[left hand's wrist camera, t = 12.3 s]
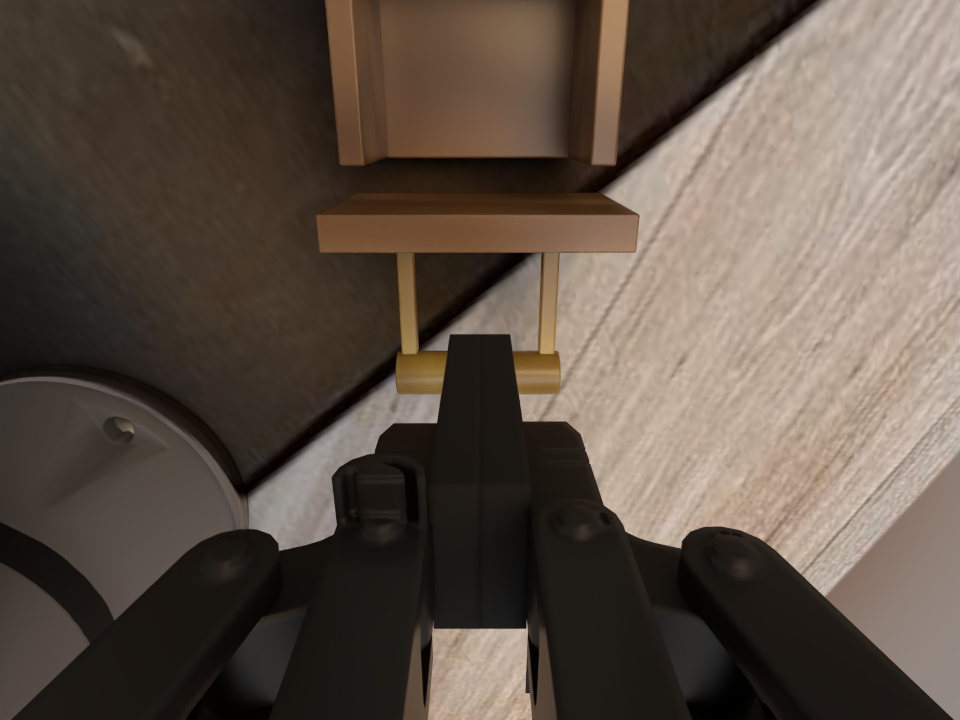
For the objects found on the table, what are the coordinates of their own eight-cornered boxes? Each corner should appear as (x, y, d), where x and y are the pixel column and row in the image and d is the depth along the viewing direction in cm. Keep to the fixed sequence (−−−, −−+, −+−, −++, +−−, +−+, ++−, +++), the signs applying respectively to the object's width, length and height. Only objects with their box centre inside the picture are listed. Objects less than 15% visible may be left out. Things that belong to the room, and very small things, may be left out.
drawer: (588, 358, 27) (618, 423, 21) (368, 358, 27) (337, 424, 21) (639, -323, 18) (716, -539, 12) (314, -322, 18) (235, -540, 12)
